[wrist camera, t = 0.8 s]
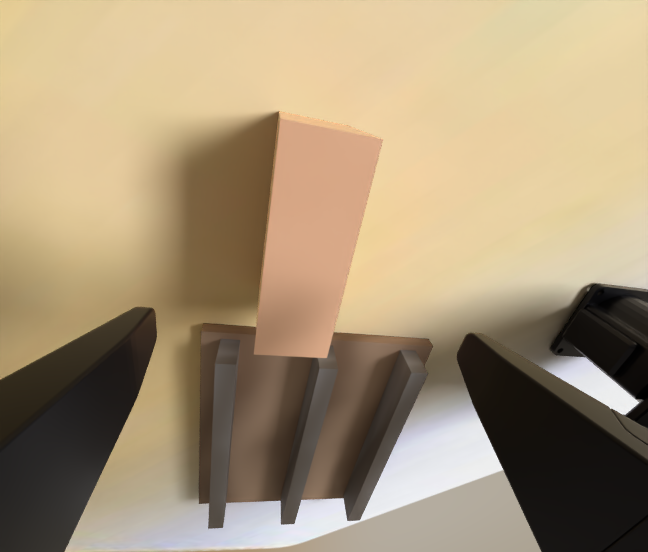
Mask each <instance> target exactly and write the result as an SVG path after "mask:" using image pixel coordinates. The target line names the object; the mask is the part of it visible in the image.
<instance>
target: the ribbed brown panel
mask: <svg viewBox="0 0 648 552" xmlns="http://www.w3.org/2000/svg"><path fill="white" fill-rule="evenodd" d="M255 333H256V327H247V326H233V325H219V324H203V327H202V330H201V384H200V461H199V504H206V503H209V524H208V529H209V528H223V523H224V515H225V507H226V503H231V502H256V501H281V525H282V524H294V523H295V520H296V516H297V513H298V509H299V506H300V502H301V500H307V499H332V498H344V503H345V509H346V515H347V521H355V520H360V519H361V516H362V514H363V512H364V510H365V508H366V506H367V504H368V501H369V499H370V497H371V495H372V493H373V491H374V489H375V486H376V484H377V482H378V480H379V478H380V476H381V474H382V471H383V469H384V467H385V465H386V463H387V461H388V459H389V456H390V454H391V452H392V450H393V448H394V446H395V444H396V441H397V439H398V437H399V435H400V433H401V431H402V429H403V426H404V424H405V422H406V420H407V418H408V416H409V414H410V411H411V409H412V407H413V405H414V403H415V401H416V399H417V396H418V394H419V392H420V390H421V388H422V386H423V384H424V381H425V379H426V377H427V375H428V372H427V370H426V369H425V367H424V365H425V363H426V361H427V359H428V356H429V354H430V352H431V350H432V348H433V346H432V344H431V342H430V341H429V339H419V338H405V337H391V336H376V335H362V334H348V333H333V336H332V340H331V344H330V348H329V352H328V356H327V358H314V357H293V356H273V355H254V345H255Z"/></svg>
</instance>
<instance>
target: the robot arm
mask: <svg viewBox="0 0 648 552" xmlns="http://www.w3.org/2000/svg"><path fill="white" fill-rule="evenodd" d="M156 338H157V329H156V315H155V310H154V309H153V308H147V307H135V308H133V309H131V310H129V311H127V312H125V313H123V314H122V315H120V316H118V317H116V318H114V319H112V320H110V321H109V322H107V323H105V324H103V325H101V326H99V327H97V328H96V329H94V330H92V331H90V332H88V333H86V334H85V335H83V336H81V337H79V338H77V339H75V340H73V341H72V342H70V343H68V344H66V345H64V346H62V347H60V348H59V349H57V350H55V351H53V352H51V353H49V354H47V355H46V356H44V357H42V358H40V359H38V360H36V361H34V362H33V363H31V364H29V365H27V366H25V367H23V368H21V369H20V370H18V371H16V372H14V373H12V374H10V375H8V376H7V377H5V378H3V379H1V380H0V552H64V551H65V549H66V547H67V545H68V543H69V541H70V539H71V537H72V534H73V532H74V530H75V528H76V526H77V524H78V522H79V520H80V517H81V515H82V513H83V511H84V509H85V507H86V505H87V503H88V501H89V498H90V496H91V494H92V492H93V490H94V488H95V486H96V484H97V482H98V479H99V477H100V475H101V473H102V471H103V469H104V467H105V465H106V462H107V460H108V458H109V456H110V454H111V452H112V450H113V448H114V446H115V443H116V441H117V439H118V437H119V435H120V433H121V431H122V429H123V427H124V424H125V422H126V420H127V418H128V416H129V414H130V412H131V410H132V407H133V405H134V403H135V401H136V398H137V396H138V393H139V391H140V388H141V385H142V382H143V379H144V376H145V373H146V370H147V367H148V364H149V361H150V358H151V355H152V352H153V349H154V346H155V343H156ZM551 351H552V352H553V353H554V354H555V355H560V356H576V357H586V358H587V359H588V360H589V361H591V362H592V363H593V364H594V365H595V366H597V367H598V368H599V369H600V370H601V371H603V372H604V373H605V374H606V375H607V376H609V377H610V378H611V379H612V380H613V381H615V382H616V383H617V384H618V385H619V386H620V387H622V388H623V389H624V390H625V391H626V392H628V393H629V394H630V395H631V396H632V397H634V398H635V399H636V400H637V401H638V402H639V404H638V405H636V406H635V407H634V408H633V409H632V410H631V411H629V412H628V413H627V414H626V415H622V414H620V413H619V412H617V411H615V410H613V409H610V408H609V407H608V406H606V405H605V404H603V403H601V402H599V401H598V400H596V399H594V398H593V397H591V396H589V395H587V394H586V393H584V392H582V391H580V390H579V389H577V388H575V387H574V386H572V385H570V384H568V383H567V382H565V381H563V380H561V379H560V378H558V377H556V376H555V375H553V374H551V373H549V372H548V371H546V370H544V369H542V368H541V367H539V366H537V365H536V364H534V363H532V362H530V361H529V360H527V359H525V358H523V357H522V356H520V355H518V354H517V353H515V352H513V351H511V350H510V349H508V348H506V347H504V346H503V345H501V344H499V343H498V342H496V341H494V340H492V339H491V338H489V337H487V336H485V335H484V334H481V333H468V334H467V335H466V336H465V338H464V340H463V342H462V344H461V346H460V348H459V350H458V352H457V361H458V364H459V367H460V369H461V372H462V375H463V378H464V381H465V383H466V386H467V389H468V392H469V395H470V397H471V400H472V403H473V405H474V408H475V410H476V412H477V414H478V416H479V419H480V421H481V423H482V425H483V427H484V429H485V432H486V434H487V436H488V438H489V440H490V442H491V444H492V447H493V449H494V451H495V453H496V455H497V457H498V459H499V462H500V464H501V466H502V468H503V470H504V472H505V474H506V477H507V479H508V481H509V483H510V485H511V487H512V489H513V491H514V494H515V496H516V498H517V500H518V502H519V504H520V507H521V509H522V511H523V513H524V515H525V517H526V520H527V522H528V524H529V526H530V528H531V530H532V532H533V535H534V537H535V539H536V541H537V543H538V545H539V547H540V549H541V552H648V290H646V289H638V288H630V287H622V286H614V285H606V284H596V285H594V286H593V287H592V288H591V289H590V290H589V292H588V293H587V295H586V296H585V298H584V299H583V301H582V302H581V304H580V305H579V307H578V308H577V310H576V311H575V313H574V314H573V315H572V317H571V318H570V320H569V321H568V323H567V324H566V326H565V327H564V329H563V330H562V332H561V333H560V335H559V336H558V338H557V339H556V341H555V342H554V344H553V345H552V347H551Z"/></svg>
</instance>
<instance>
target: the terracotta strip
mask: <svg viewBox="0 0 648 552" xmlns="http://www.w3.org/2000/svg"><path fill="white" fill-rule="evenodd" d="M382 142H383V139H381V138H378V137H376V136H373V135H371V134H368V133H366V132H363V131H361V130H358V129H356V128H353V127H351V126H348V125H343V124H338V123H333V122H328V121H324V120H319V119H314V118H309V117H304V116H300V115H295V114H290V113H285V112H280V111H279V115H278V124H277V133H276V142H275V151H274V160H273V169H272V178H271V187H270V196H269V205H268V214H267V223H266V232H265V241H264V250H263V259H262V268H261V277H260V286H259V297H258V309H257V321H256V333H255V345H254V355H273V356H293V357H314V358H327V356H328V352H329V348H330V344H331V340H332V336H333V332H334V328H335V325H336V321H337V317H338V313H339V309H340V305H341V301H342V297H343V293H344V290H345V286H346V282H347V278H348V274H349V270H350V266H351V262H352V258H353V255H354V251H355V247H356V243H357V239H358V235H359V231H360V227H361V223H362V220H363V216H364V212H365V208H366V204H367V200H368V196H369V192H370V188H371V185H372V181H373V177H374V173H375V169H376V165H377V161H378V157H379V153H380V149H381V146H382Z"/></svg>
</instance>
